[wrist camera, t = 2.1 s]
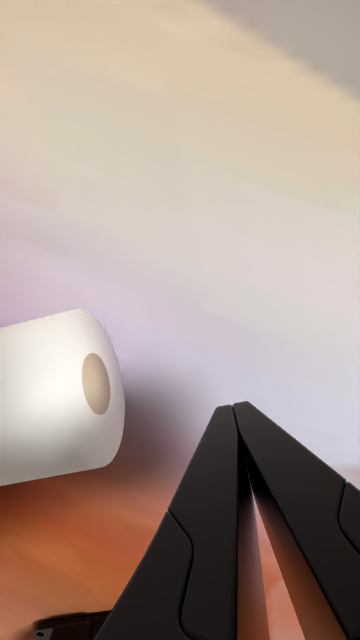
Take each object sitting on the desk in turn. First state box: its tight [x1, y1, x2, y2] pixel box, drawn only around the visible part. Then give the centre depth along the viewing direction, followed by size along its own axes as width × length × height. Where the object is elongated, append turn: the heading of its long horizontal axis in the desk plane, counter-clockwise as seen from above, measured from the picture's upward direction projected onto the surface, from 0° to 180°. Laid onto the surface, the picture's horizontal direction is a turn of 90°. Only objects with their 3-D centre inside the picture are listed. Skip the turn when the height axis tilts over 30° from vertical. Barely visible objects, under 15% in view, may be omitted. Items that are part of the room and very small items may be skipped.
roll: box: [0, 309, 125, 486], centre depth 12 cm, size 8×6×6 cm
